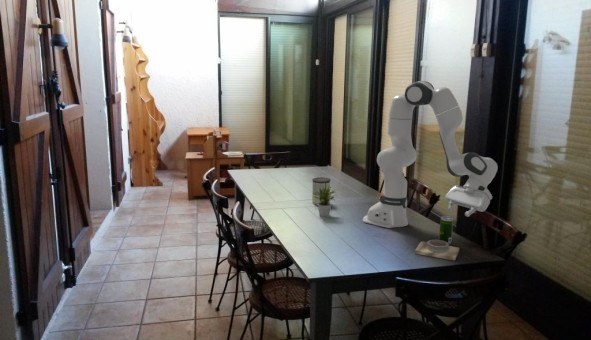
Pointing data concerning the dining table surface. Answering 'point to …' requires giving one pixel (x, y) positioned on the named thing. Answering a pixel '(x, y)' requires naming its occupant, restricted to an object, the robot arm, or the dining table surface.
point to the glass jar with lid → (320, 183)
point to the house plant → (324, 201)
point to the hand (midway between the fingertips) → (457, 213)
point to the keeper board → (437, 249)
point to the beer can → (446, 229)
